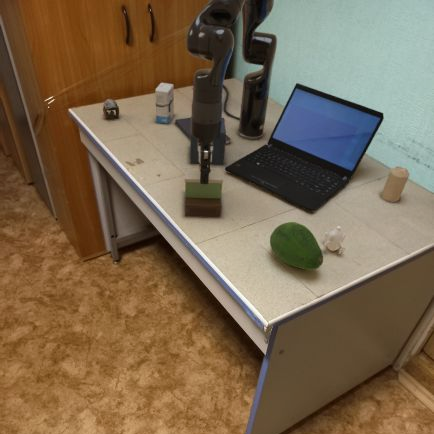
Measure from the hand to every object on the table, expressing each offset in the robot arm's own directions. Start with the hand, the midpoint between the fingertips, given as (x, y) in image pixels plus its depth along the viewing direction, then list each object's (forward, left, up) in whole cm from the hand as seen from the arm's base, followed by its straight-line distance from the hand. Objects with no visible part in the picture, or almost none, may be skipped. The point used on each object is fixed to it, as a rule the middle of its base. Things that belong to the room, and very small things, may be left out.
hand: (203, 175), depth 116 cm
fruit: (+24, +23, -10) cm, 35 cm away
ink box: (-57, -13, -10) cm, 59 cm away
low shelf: (0, 0, -10) cm, 10 cm away
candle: (-7, +59, -10) cm, 60 cm away
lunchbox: (0, 0, -6) cm, 6 cm away
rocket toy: (+19, +34, -10) cm, 40 cm away
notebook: (-46, +1, -10) cm, 47 cm away
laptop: (-21, +32, -10) cm, 40 cm away
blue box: (-29, +2, -10) cm, 31 cm away
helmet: (-56, -33, -10) cm, 66 cm away
